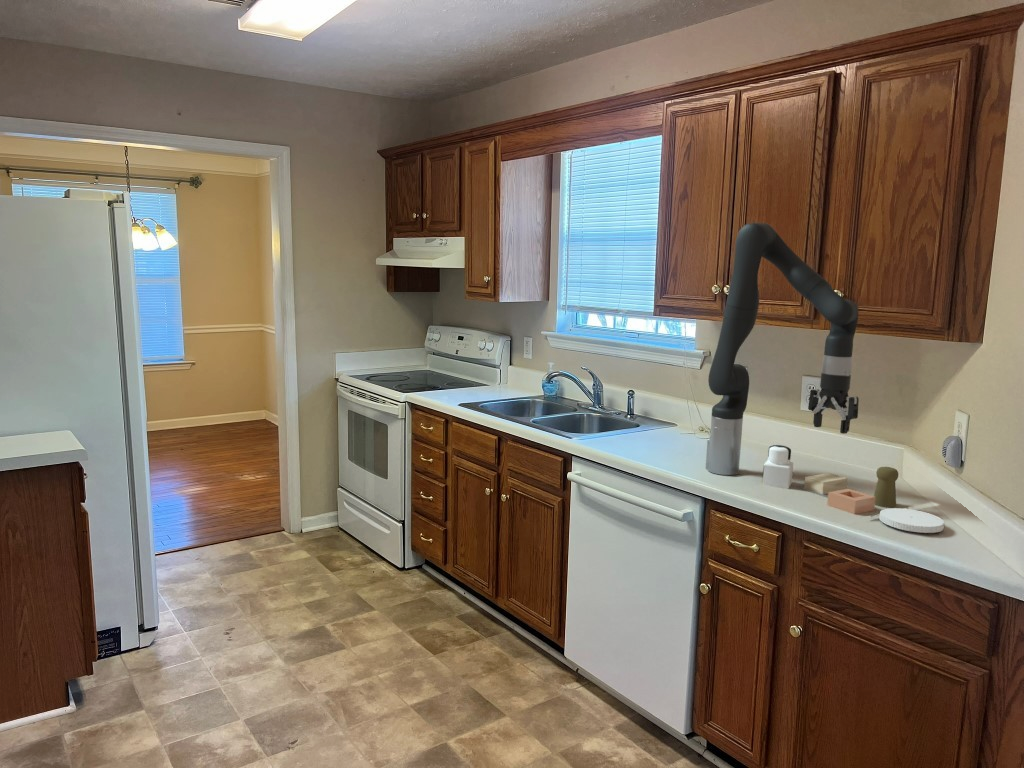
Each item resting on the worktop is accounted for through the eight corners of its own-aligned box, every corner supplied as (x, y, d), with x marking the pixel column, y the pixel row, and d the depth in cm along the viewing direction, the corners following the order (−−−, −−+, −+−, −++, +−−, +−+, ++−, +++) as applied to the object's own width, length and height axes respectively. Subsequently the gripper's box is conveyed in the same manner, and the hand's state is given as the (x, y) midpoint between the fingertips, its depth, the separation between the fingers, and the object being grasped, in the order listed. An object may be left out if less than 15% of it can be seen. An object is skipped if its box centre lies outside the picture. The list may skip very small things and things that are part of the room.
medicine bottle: (765, 482, 220) (769, 442, 218) (791, 486, 216) (795, 445, 215) (761, 488, 213) (765, 447, 212) (788, 492, 210) (791, 450, 208)
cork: (888, 504, 201) (893, 464, 199) (901, 511, 195) (905, 470, 193) (866, 504, 201) (870, 464, 199) (878, 511, 195) (882, 470, 193)
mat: (792, 489, 212) (793, 486, 212) (821, 484, 218) (821, 481, 218) (828, 501, 202) (829, 498, 202) (857, 496, 208) (857, 492, 208)
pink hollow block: (826, 508, 196) (828, 492, 195) (846, 504, 200) (848, 488, 199) (853, 517, 189) (855, 500, 188) (873, 513, 193) (875, 496, 192)
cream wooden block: (804, 488, 210) (805, 476, 210) (827, 484, 215) (828, 472, 214) (822, 494, 205) (823, 482, 204) (846, 490, 210) (847, 478, 209)
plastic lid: (883, 532, 180) (884, 522, 179) (875, 514, 193) (876, 505, 193) (948, 540, 175) (950, 529, 175) (936, 522, 188) (937, 512, 188)
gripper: (805, 369, 209) (800, 426, 212) (849, 376, 197) (843, 436, 199) (823, 368, 213) (818, 424, 215) (868, 375, 200) (862, 434, 203)
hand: (830, 430), depth 207 cm, fingers open, 8 cm apart
